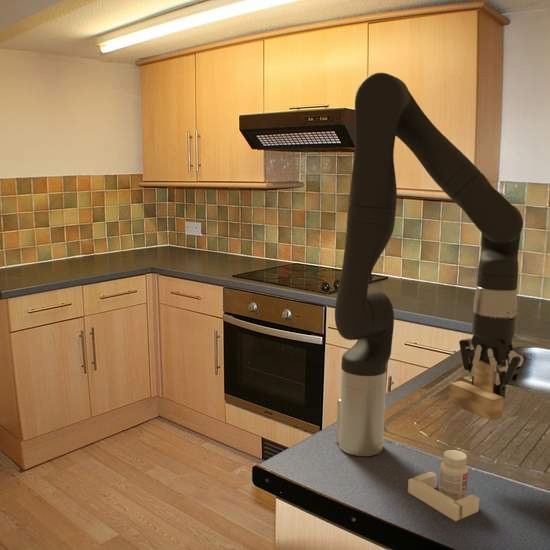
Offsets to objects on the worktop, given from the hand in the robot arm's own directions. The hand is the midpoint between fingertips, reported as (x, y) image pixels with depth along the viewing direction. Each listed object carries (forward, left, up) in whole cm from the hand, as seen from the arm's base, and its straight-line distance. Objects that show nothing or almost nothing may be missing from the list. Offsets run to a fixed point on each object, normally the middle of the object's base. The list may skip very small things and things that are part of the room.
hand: (487, 397), depth 115 cm
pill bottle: (+4, -13, -15) cm, 20 cm away
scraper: (0, -1, -2) cm, 2 cm away
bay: (+4, -15, -15) cm, 22 cm away
